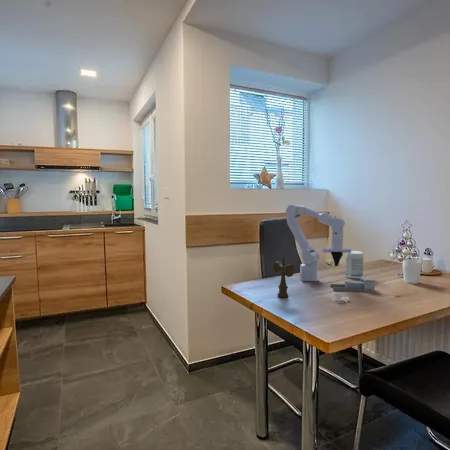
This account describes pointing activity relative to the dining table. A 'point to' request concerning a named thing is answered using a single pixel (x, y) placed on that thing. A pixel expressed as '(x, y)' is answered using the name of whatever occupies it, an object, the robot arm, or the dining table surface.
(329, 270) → the dining table surface
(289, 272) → the kendama
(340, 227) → the robot arm
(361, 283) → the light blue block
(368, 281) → the track
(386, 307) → the dining table surface
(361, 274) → the supplement tub
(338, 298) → the teacup and saucer
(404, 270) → the cup
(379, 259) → the dining table surface
